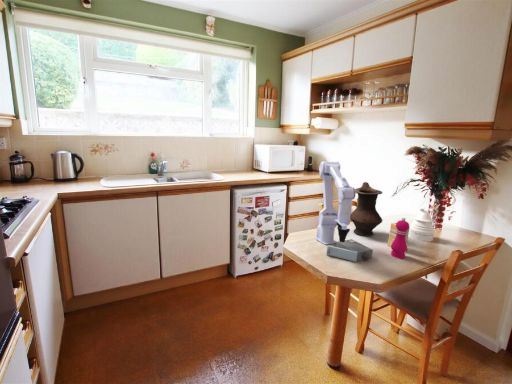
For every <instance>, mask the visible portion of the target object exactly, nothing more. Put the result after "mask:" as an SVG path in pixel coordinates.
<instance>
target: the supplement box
mask: <svg viewBox="0 0 512 384" xmlns="http://www.w3.org/2000/svg"><path fill="white" fill-rule="evenodd" d="M396 223H397V222H391V224H390V229H389V234H388V241H387V247H390V248H391V245H392V242H393V241H394V240H395V238H396V234H397V233H396V229H397V228H396ZM409 230H410V227H409V229H408V230H407V234H406V237H405V240H406V244H407V245H408V238H409Z"/></svg>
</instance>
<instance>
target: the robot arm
mask: <svg viewBox="0 0 512 384" xmlns="http://www.w3.org/2000/svg"><path fill="white" fill-rule="evenodd" d="M318 172H319V178H320V179H322V180H321V181H322V192H323V193H322V196H323V208H322V209H321V210H320V211H319V213H318V226H317V227H316V236H315V238H314V239H315V240H316V241H318V242H320V243H322V244H323V245H327V246H328V245H333V244H337V242H339V241H340V242H344V241H345V240H347V239H346V238H347V236H348V234H349V233H350V230H351V229H350V228H348V226H349V225H351V224H350V223H351V219H350V215H351V213H352V207H353V206H352V205H353V200H354V199H355V198H356V195H357V193H356V192H355V189H356V188H355V187H353V186H350V184H349V182H348V181H347V179H346V177H344V176H342V174H341V163H340V162H339V161H324V160H323V161H320V164H319V171H318ZM333 179H334V186H335V187H336V189H337V191H338V192H337V197H338V200H337V201H338V210H336V209H335V208H334V203H333V202H334V199H333V198H334V197H333ZM336 228H337V232H338V241H336V240H335V239H334V238H335V229H336Z"/></svg>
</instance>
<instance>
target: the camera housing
mask: <svg viewBox="0 0 512 384" xmlns="http://www.w3.org/2000/svg"><path fill="white" fill-rule="evenodd" d="M336 242H337V243H336V246H335V247H338V248H342V249H346V250H351V251H355V252H358V253H357V261H356V262H361V261H365V260H368V259H372V257H373V249H372V248H371V247H369V246H366V245H364V244H363V243H360V242H358V241H356V240H354V239H345V241H344V242H340V241H339V240H338V241H336Z"/></svg>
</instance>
